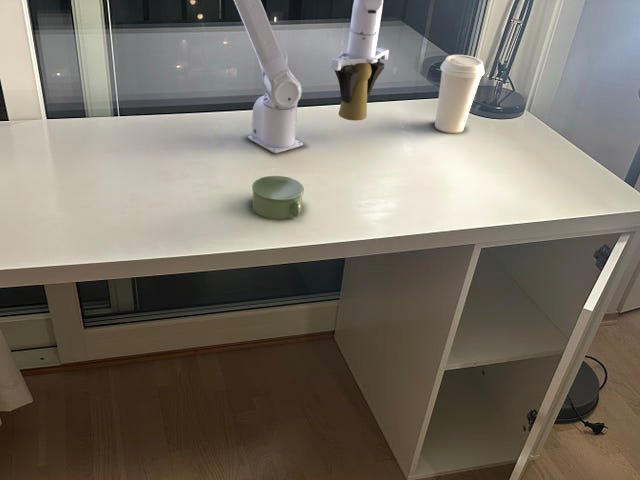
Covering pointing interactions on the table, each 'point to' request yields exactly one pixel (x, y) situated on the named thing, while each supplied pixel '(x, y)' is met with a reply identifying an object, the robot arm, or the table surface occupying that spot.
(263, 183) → the upturned mug
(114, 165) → the table surface
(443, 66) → the coffee cup
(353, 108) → the brown pawn
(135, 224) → the table surface
